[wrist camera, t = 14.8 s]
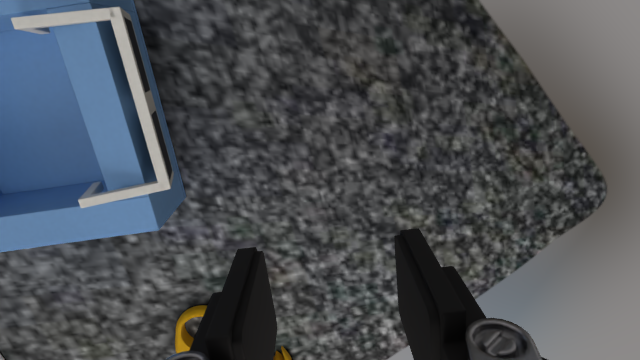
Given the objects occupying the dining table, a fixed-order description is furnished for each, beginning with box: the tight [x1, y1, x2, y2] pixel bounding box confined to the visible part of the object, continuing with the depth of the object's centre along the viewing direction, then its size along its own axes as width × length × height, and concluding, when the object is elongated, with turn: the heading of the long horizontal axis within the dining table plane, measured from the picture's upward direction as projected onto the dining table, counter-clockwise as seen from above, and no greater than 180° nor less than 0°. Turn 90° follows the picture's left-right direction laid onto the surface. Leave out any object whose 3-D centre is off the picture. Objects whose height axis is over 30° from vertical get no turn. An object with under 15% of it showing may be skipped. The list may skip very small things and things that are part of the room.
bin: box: [0, 0, 186, 252], centre depth 31 cm, size 20×20×8 cm
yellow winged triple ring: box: [175, 305, 292, 360], centre depth 44 cm, size 17×2×10 cm
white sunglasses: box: [11, 7, 174, 208], centre depth 29 cm, size 6×13×4 cm, turn 8°
